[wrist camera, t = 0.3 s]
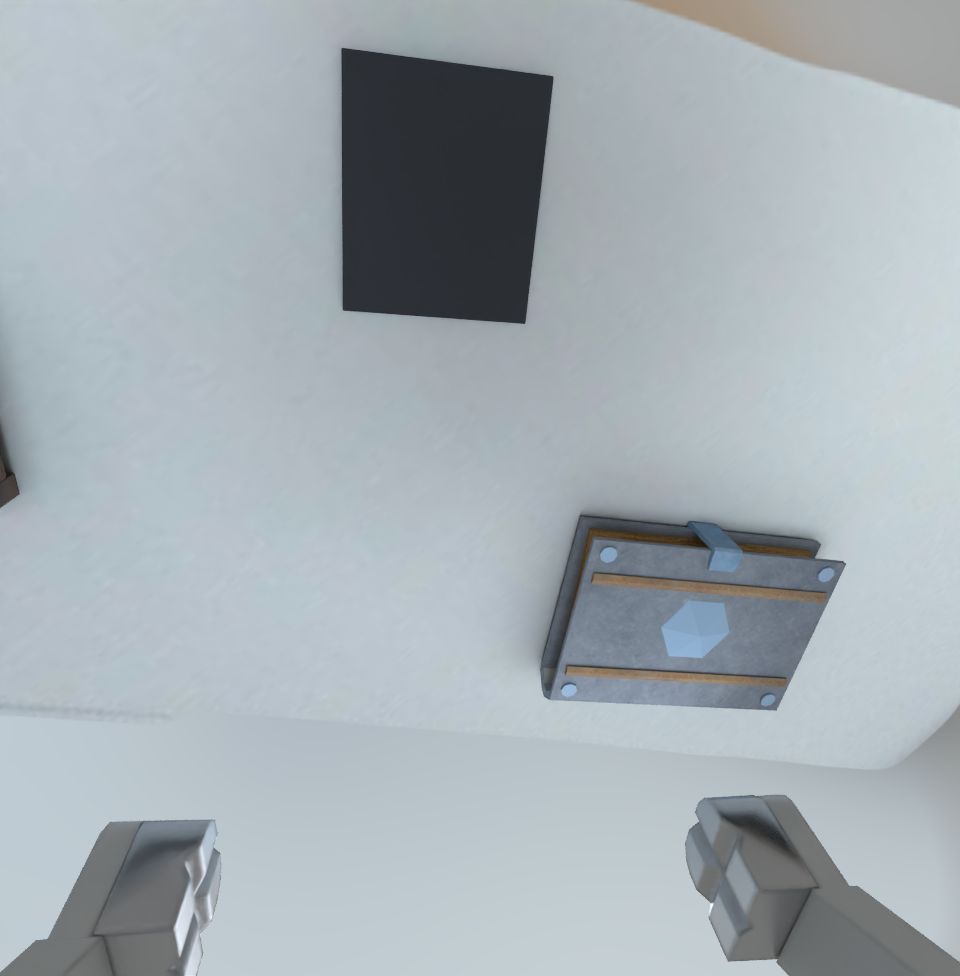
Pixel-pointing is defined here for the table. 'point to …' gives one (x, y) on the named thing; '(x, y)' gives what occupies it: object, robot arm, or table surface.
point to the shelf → (7, 485)
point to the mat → (440, 186)
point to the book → (683, 615)
